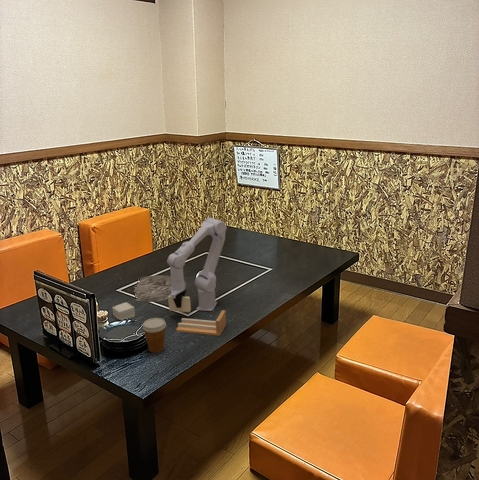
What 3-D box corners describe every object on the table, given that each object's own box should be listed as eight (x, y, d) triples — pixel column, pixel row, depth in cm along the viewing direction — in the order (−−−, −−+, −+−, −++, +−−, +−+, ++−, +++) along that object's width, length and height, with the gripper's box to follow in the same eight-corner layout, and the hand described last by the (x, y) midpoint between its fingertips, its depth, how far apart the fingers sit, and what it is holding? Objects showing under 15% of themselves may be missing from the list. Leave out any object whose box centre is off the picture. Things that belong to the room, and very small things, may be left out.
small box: (135, 316, 222) (134, 306, 220) (120, 322, 217) (119, 312, 215) (127, 311, 228) (126, 301, 226) (112, 316, 223) (111, 306, 221)
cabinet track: (184, 320, 216) (183, 306, 214) (226, 324, 212) (225, 310, 209) (176, 331, 207) (175, 317, 205) (219, 335, 202) (219, 321, 200)
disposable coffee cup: (151, 341, 200) (148, 316, 196) (171, 344, 197) (169, 318, 193) (140, 353, 191) (137, 326, 187) (162, 356, 188) (159, 329, 185)
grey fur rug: (151, 271, 276) (151, 270, 276) (197, 284, 256) (197, 283, 256) (106, 291, 250) (106, 291, 250) (153, 307, 231) (153, 306, 230)
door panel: (170, 308, 221) (169, 295, 219) (190, 310, 218) (189, 296, 216) (169, 310, 219) (167, 296, 217) (189, 312, 217) (188, 298, 214)
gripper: (175, 272, 221) (177, 298, 226) (163, 285, 208) (165, 312, 212) (189, 273, 220) (191, 299, 224) (178, 286, 206) (180, 313, 211)
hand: (179, 306), depth 218 cm, fingers closed on door panel, 2 cm apart
